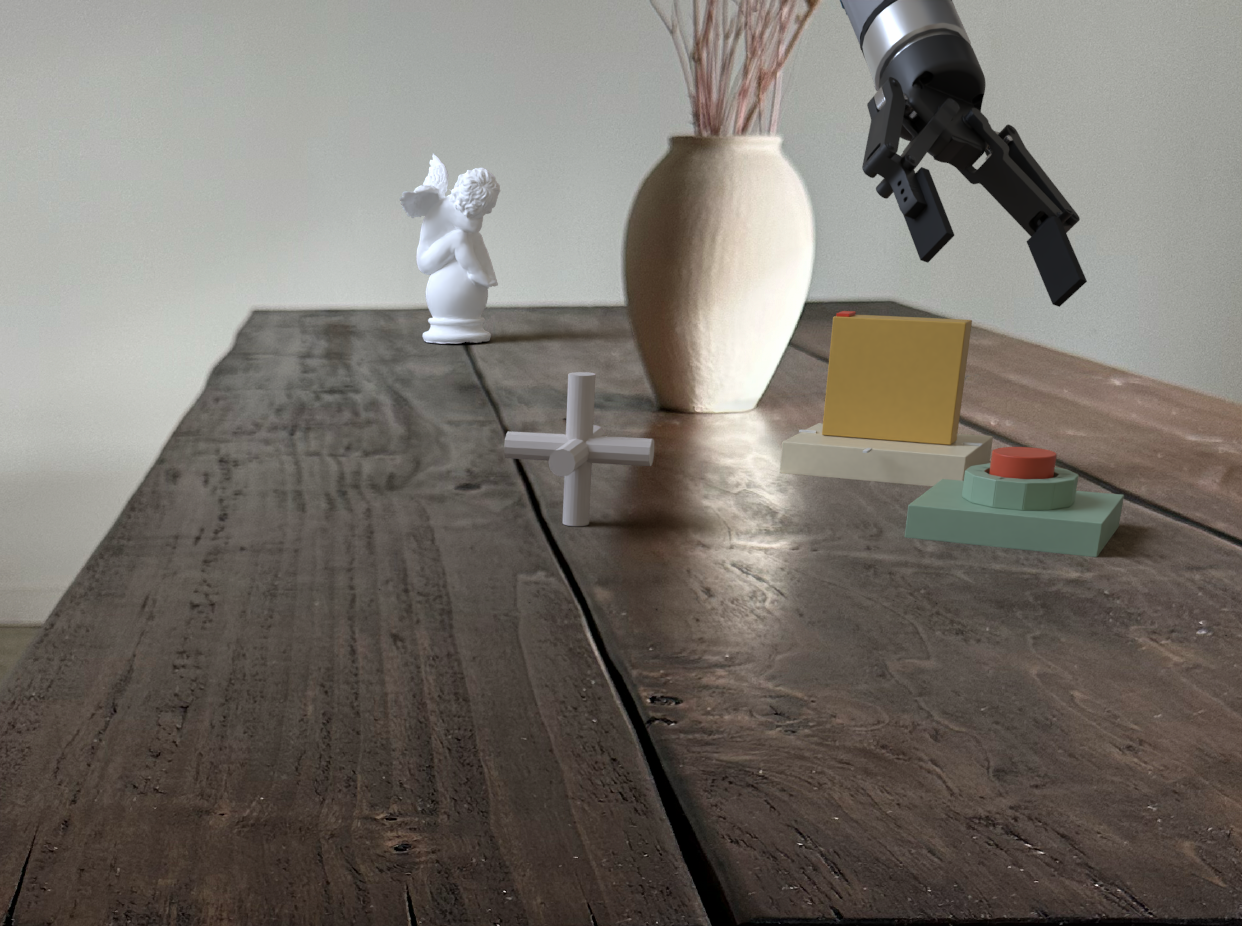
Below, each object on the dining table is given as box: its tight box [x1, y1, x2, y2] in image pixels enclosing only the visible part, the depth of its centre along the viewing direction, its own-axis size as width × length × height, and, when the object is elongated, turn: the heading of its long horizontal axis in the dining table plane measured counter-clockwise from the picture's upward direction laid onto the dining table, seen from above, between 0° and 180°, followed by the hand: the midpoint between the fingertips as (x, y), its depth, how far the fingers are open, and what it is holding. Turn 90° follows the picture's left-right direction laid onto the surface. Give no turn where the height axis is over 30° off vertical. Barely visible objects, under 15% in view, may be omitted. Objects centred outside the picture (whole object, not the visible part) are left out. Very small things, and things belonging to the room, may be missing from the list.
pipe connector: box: [503, 371, 655, 527], centre depth 114 cm, size 10×10×10 cm
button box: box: [904, 462, 1125, 558], centre depth 112 cm, size 12×10×4 cm
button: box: [989, 446, 1057, 479], centre depth 111 cm, size 4×4×2 cm
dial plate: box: [779, 422, 994, 488], centre depth 133 cm, size 14×14×3 cm
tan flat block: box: [822, 310, 973, 445], centre depth 130 cm, size 10×2×9 cm, turn 61°
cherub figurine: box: [399, 152, 501, 345], centre depth 209 cm, size 12×12×22 cm
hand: (1005, 271), depth 124 cm, fingers open, 13 cm apart
